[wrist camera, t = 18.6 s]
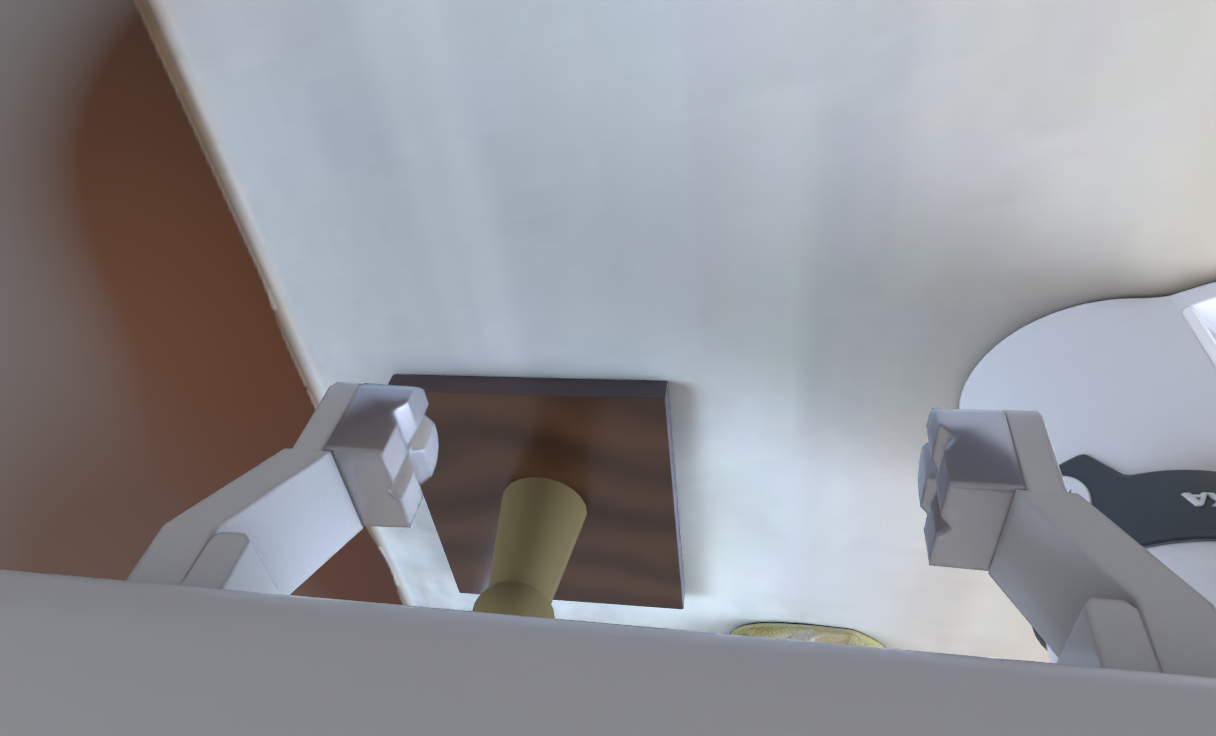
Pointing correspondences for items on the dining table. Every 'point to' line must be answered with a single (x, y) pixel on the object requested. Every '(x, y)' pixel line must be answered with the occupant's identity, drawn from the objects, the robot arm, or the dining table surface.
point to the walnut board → (560, 478)
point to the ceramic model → (807, 634)
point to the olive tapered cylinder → (532, 547)
